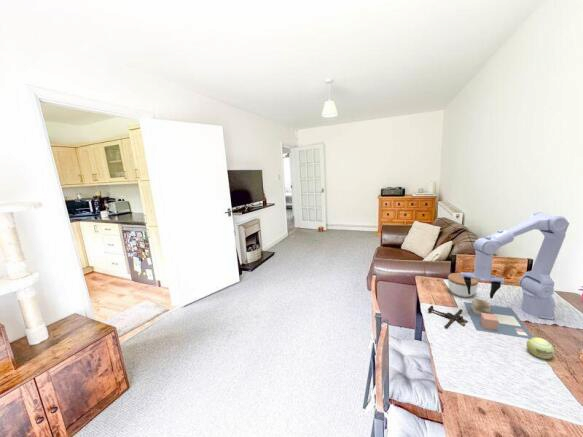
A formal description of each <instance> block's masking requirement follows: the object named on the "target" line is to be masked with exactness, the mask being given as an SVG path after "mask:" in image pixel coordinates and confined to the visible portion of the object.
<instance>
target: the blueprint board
mask: <svg viewBox="0 0 583 437" xmlns="http://www.w3.org/2000/svg"><path fill="white" fill-rule="evenodd" d="M463 304H464V306H465V308H466V311H467V313H468V315H469V317H470V319H471V321H472V324H473V326H474V329H475V330H476V331H479V332H486V333H489V334H490V333H492V334H497V335H503V336H510V337H514V338H515V337H517V338H522V339H527V340H529V339H531V338H535V337H534V336H533V334H532V333H531V332H530V330H529V329H528V328H527V327H526V325H525V324H524V323H523V321H522V320H521V318H520V317H519V316H518V315H517V313H516V312H515V311H514V310H513V308H512V307H510V306H509V307H507V306H501V305H500V306H499V305H493V304H492V305H491V304H490V306H491V313H490V314H494V315H495V316H496V318H497V320H498V330H497V331H494V330H488V329H483V327H482V325H481V323H480V318H481V315H478V314H475V313H474V311H473V309H472V302H468V301H463Z"/></svg>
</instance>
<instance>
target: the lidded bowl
mask: <svg viewBox="0 0 583 437" xmlns="http://www.w3.org/2000/svg"><path fill="white" fill-rule="evenodd" d="M447 283H448V288H449V290H450V291H451V292H452V293H453V294H454V295H456V296H458V297H462V298H463V297H464V298H468V297H472V296H474V295H475V293H476V292H477V290H478V286H479V285H478V284H479V280H477V279H471V287H470V294H468V288H467V285H466V283H465V281H464V278H461V272H451V273H450V274H448V275H447Z"/></svg>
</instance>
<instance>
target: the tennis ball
mask: <svg viewBox="0 0 583 437" xmlns="http://www.w3.org/2000/svg"><path fill="white" fill-rule="evenodd" d="M526 348H527V349H528V352H529V353H531V354H532V355H533V356H535V357H536V358H539V359H543V360H548V359H552V358H553V356H554V355H555V348H554V346H553V345H552V343H550V342H549V341H548V340H546V339H543V338H542V337H534V338H531V339H527V341H526Z"/></svg>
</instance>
